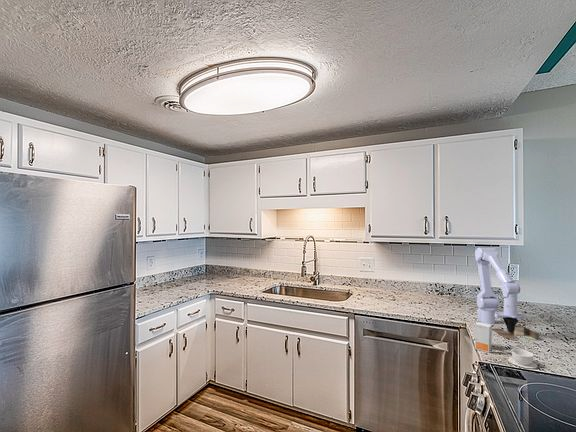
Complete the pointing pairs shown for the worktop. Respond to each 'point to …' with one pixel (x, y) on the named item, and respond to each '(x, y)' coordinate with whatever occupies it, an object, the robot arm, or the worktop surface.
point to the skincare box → (483, 337)
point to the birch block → (518, 330)
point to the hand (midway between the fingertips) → (510, 332)
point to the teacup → (522, 358)
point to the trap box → (527, 333)
